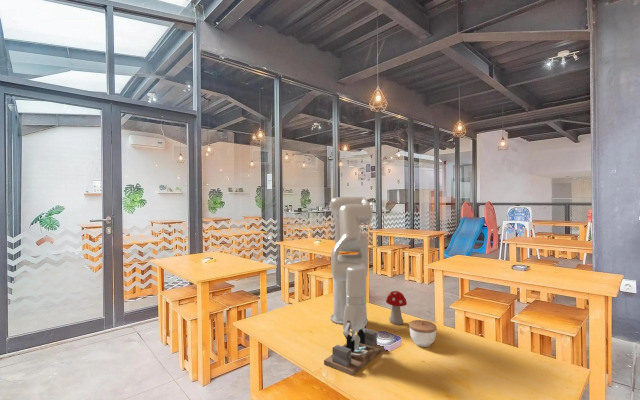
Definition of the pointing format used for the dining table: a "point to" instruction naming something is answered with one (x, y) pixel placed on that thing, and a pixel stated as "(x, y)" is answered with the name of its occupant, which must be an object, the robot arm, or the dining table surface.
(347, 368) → the brown tray
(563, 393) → the dining table surface
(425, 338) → the lidded jar
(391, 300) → the decorative mushroom
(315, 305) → the dining table surface
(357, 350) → the pacifier
